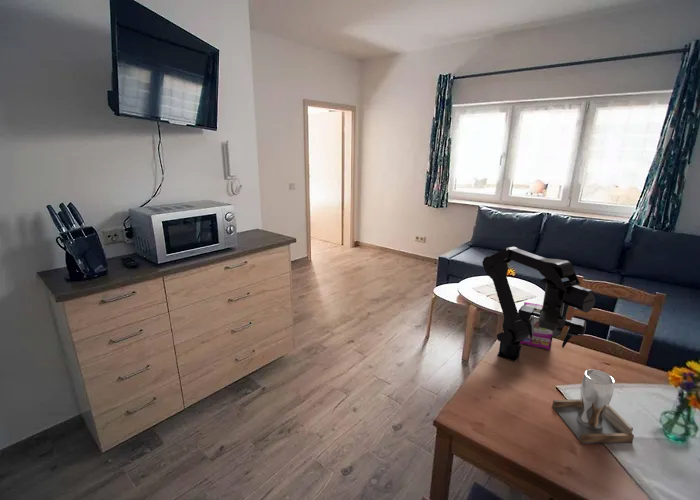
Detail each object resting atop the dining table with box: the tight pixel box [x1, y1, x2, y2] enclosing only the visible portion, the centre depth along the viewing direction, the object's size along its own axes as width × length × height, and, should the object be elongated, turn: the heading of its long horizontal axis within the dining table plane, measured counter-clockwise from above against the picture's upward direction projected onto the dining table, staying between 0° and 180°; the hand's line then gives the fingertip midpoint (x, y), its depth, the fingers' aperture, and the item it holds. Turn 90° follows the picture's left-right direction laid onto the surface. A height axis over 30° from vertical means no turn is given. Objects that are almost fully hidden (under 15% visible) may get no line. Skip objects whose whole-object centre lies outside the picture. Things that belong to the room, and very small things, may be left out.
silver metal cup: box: [576, 368, 616, 430], centre depth 93 cm, size 7×7×15 cm
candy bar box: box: [520, 301, 554, 351], centre depth 132 cm, size 11×5×16 cm, turn 62°
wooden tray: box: [551, 398, 635, 445], centre depth 95 cm, size 13×13×4 cm
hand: (546, 342), depth 112 cm, fingers open, 9 cm apart
